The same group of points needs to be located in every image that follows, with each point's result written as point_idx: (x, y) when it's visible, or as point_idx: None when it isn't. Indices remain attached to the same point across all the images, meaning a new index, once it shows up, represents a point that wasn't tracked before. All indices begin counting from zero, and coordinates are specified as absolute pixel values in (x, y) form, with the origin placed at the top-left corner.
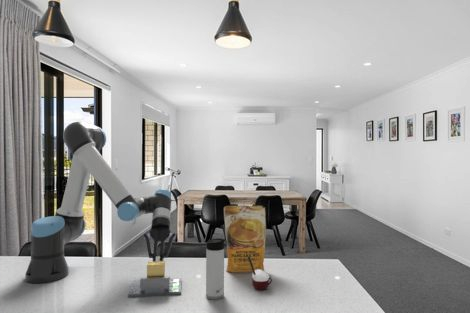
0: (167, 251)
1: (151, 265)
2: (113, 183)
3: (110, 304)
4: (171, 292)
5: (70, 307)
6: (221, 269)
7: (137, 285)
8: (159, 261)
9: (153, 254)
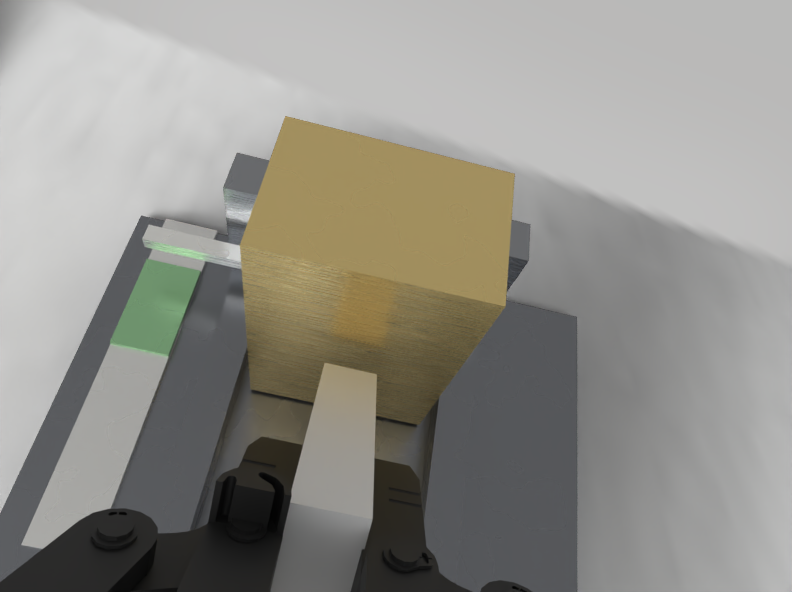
0: (61, 561)
1: (454, 165)
2: None
3: (659, 262)
4: (224, 235)
5: None
6: None
7: (523, 502)
8: (332, 250)
9: (429, 571)
